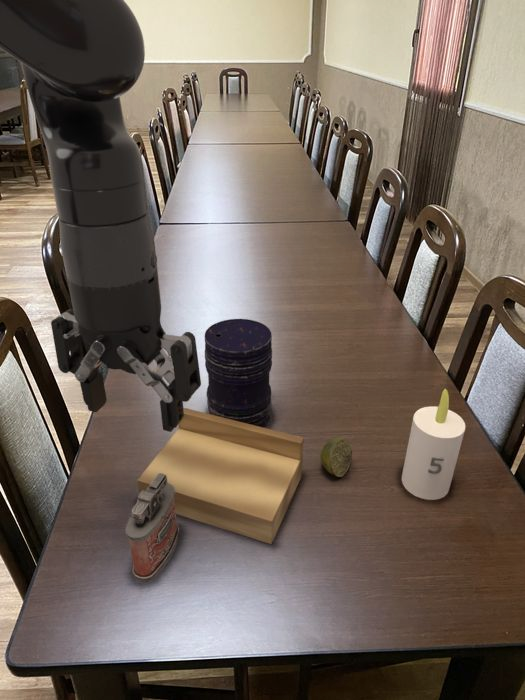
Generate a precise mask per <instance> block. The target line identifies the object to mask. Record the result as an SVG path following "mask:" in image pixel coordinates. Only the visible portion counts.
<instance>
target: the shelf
mask: <svg viewBox="0 0 525 700" xmlns="http://www.w3.org/2000/svg"><path fill="white" fill-rule="evenodd" d="M183 411H184V417H183V419H182V420H181V422H180V423H179V424H178V426H177V427H178V429H177V430H176V431H175V432H174V434H173V435H171V437H170V439H169V440H168V441H167V442H166V443H165V445H164V446H163V448H162V449H161V450H160V451H159V452H158V454H157V455H156V456H155V458H154V459H152V461H151V462H150V463H149V465H148V466H147V467H146V468H145V470H144V471H143V472H142V473H141V475H140V476H139V477H138V479H137V487H138V495H139V494H140V492H141V491H142V490H143V491H146V490H147V488H148V487H149V485H150V484H151V483H152V481H153V480H154V478H155V477H156V476H157V474H159V473H163V474H165V475H167V483H169V484H171V485H172V486H174V488H175V498H174V502H175V511H176V515H178V516H180V517H184V518H187V519H191V520H193V521H197V522H199V523H204V524H206V525H210V526H213V527H216V528H219V529H222V530H225V531H227V532H232V533H234V534H238V535H240V536H244V537H248V538H250V539H253V540H257V541H259V542H263V543H266V544H269V545H272V544H273V543H274V540H275V537H276V536H277V534H278V531H279V529H280V526H281V524H282V521H283V519H284V517H285V515H286V513H287V511H288V508H289V506H290V504H291V502H292V499H293V497H294V495H295V493H296V491H297V488H298V485H299V483H300V481H301V479H302V472H303V471H302V470H303V458H304V457H303V456H304V439H305V438H304V437H303V436H298V435H294V434H290V433H287V432H282V431H278V430H274V429H271V428H267V427H265V428H263V427H259V426H255V425H251V424H247V423H243V422H239V421H235V420H231V419H227V418H223V417H219V416H215V415H211V414H209V413H206V412H202V411H199V410H195V409H191V408H188V407H187V408H186V407H183Z"/></svg>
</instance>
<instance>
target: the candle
mask: <svg viewBox="0 0 525 700" xmlns="http://www.w3.org/2000/svg"><path fill="white" fill-rule="evenodd" d="M449 407H450V395H449V392H448V389H446V388H444V389H443V390H442V393H441V397H440V400H439V403H438V406H423V407H421V408H419V409H418V410H416V411H415V413H414V414H413V417H412V423H411V429H410V432H409V436H408V437H409V438H408V443H407V448H406V453H405V457H404V458H405V459H404V463H403V468H402V473H401V483H402V485H403V487H404V488H405V490H406V491H407V492H408V493H409V494H411V495H413V496H414V497H417V498H419V499H422V500H427V501H437V500H440V499H443V498H444V497H446V496H447V495H448V494H449V491H450V488H451V485H452V480H453V477H454V473H455V470H456V465H457V462H458V458H459V453H460V450H461V447H462V443H463V440H464V435H465V432H466V423H465V421H464V419H463V418H462V417H461V416H460V415H459V414H457V413H456V412H455V411H453V410H450V409H449Z"/></svg>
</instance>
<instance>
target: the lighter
mask: <svg viewBox="0 0 525 700" xmlns="http://www.w3.org/2000/svg"><path fill="white" fill-rule="evenodd" d="M174 498H175V488H174V486H172V485H171V484H169V483H167V475H165V474H163V473H159V474H157V476H156V477H155V478H154V480H153V481H152V483H151V484H150V485H149V487H148V488H147V490H146V491H143V490H142V491H141V492H140V494H139V493H138V496H137V500H136V503H135V505H134V506H133V507H132V509H131V515H130V516H129V518H128V521H127V523H126V525H125V527H124V529H125V530H124V531H125V536H126V538H127V539H128V542H129V548H130V552H131V553H130V554H131V558H132V559H131V560H132V564H133V566H132V575H133V578H134V579H135V581H137V582H138V583H142V584H148V583H150V582H152V581H154V580H155V579H156V578H157V576H158V575H159V574H160V573H161V572H162V571H163V569H164V568H165V566H167V563H169V561H170V559H171V558H172V555H173V553H174V551H175V549H176V547H177V544H178V541H179V538H180V527H179V525H178V522H177V521H178V520H177V514H176V511H175V502H174Z"/></svg>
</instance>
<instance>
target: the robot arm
mask: <svg viewBox="0 0 525 700" xmlns="http://www.w3.org/2000/svg"><path fill="white" fill-rule="evenodd" d="M145 48H146V47H145V40H144V35H143V32H142V29H141V26H140V24H139V21H138V19H137V18H136V15H135V14H134V12H133V10H132V9H131V8H130V6H129V5H128V3H127V2H126V1H125V0H0V50H1V51H3V52H5V53H6V54H8V55H9V56H11V57H12V58H14V59H15V60H17V61H19V62H20V65H21V70H22V74H23V78H24V82H25V85H26V89H27V92H28V95H29V99H30V102H31V106H32V108H33V112H34V115H35V118H36V121H37V124H38V127H39V130H40V132H41V136H42V139H43V142H44V145H45V150H46V154H47V158H48V166H49V174H50V181H51V187H52V192H53V197H54V202H55V207H56V212H57V216H58V224H59V225H58V226H59V241H60V243H59V244H60V250H61V256H62V260H63V265H64V270H65V275H66V280H67V286H68V290H69V296H70V300H71V305H72V308H69V309H67V310H65V311H64V312H63V313H61V314H59V315H58V316H57V317H55V318H54V319H52V320H51V321H50V325H51V332H52V337H53V344H54V349H55V356H56V361H57V367H58V369H59V371H61V373H63V374H68V373H71V374H73V375H74V377H75V379H76V380H77V382H79V385H80V389H81V394H82V399H83V402H84V403H85V405H86V406H87V410H88V411H89V412H92V413H97V412H99V411H100V410H101V409H102V408H103V407H104V406H105V405H106V403H107V400H108V399H107V393H106V388H105V383H104V376H103V372H101V371H99V370H100V368H101V367H102V366H103V365H105V366H106V369H110V370H121V371H123V372H125V373H128V374H133V375H137V377H139V379H140V380H141V382H142V383H143V384H144V385H145V386H146V387H151V388H153V390H154V391H155V393H156V394H157V395H158V396H159V398H160V399H161V400H160V401H159V406H160V408H159V409H160V415H161V423H162V430H163V431H166V432H168V433H169V432H170V433H172V432H173V430H174V429H176V428H177V427H179V426H178V424H179V423H180V422H181V420H182V419H183V417H184V411H183V408H184V403H187V402H189V401H190V399H191V398H192V397H193V395H194V394H195V393H196V392H197V390H199V388H200V387H201V386H202V380H201V371H200V364H199V357H198V349H197V342H196V341H197V340H196V336H195V334H193V333H192V332H191V331H185V332H184V333H182V334H181V335H173V334H166V331H165V330H164V328H163V326H162V324H161V313H162V300H161V291H160V281H159V280H160V279H159V271H158V256H157V252H156V251H157V250H156V242H155V236H154V230H153V226H152V223H151V218H150V213H149V206H148V195H147V187H146V176H145V175H146V174H145V168H144V161H143V157H142V154H141V150H140V148H139V147H140V146H139V145H138V144H137V142H136V140H135V139H134V138H133V137H132V136H131V134H130V133H129V131H128V129H127V127H126V123H125V118H124V113H123V108H122V103H121V97H122V96H124V95H125V94H127V93H128V92H130V90H131V89H132V88H133V87H134V86H135V85H136V83H137V82H138V80H139V79H140V76H141V74H142V71H143V70H144V69H143V68H144V66H145V65H144V64H145V60H146V59H145V58H146V57H145V56H146V49H145ZM82 340H84V342H85V343H86V344H87V345H88V347H89V350H88V351H87V353H86V354H85V356H84V349H83V348H84V347H83V342H82ZM153 361H155V363H156V367H155V368H154V369H153V370H152V369H151V367H149V366H150V365H151V364H152V363H153ZM163 378H164V379H163ZM166 382H167V383H168V384H167V383H166Z"/></svg>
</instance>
